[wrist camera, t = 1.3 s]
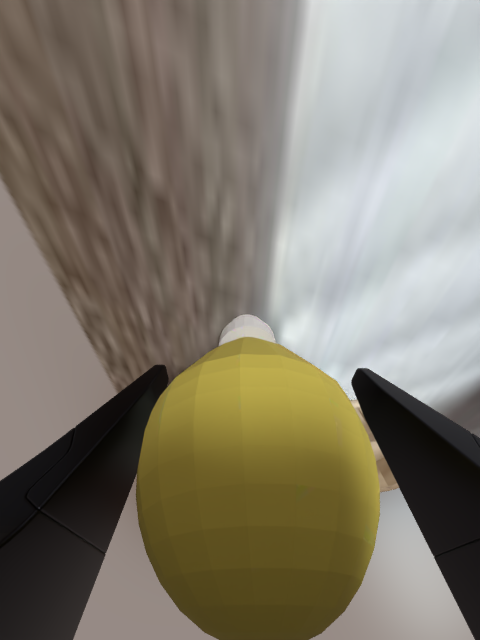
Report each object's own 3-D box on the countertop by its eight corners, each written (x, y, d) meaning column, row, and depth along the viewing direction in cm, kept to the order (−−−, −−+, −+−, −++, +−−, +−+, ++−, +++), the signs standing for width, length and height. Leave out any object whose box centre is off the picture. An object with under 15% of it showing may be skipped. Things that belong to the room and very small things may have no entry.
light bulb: (311, 350, 13) (464, 648, 4) (224, 379, 14) (198, 645, 5) (279, 259, 10) (646, 688, 1) (172, 307, 11) (-78, 655, 2)
